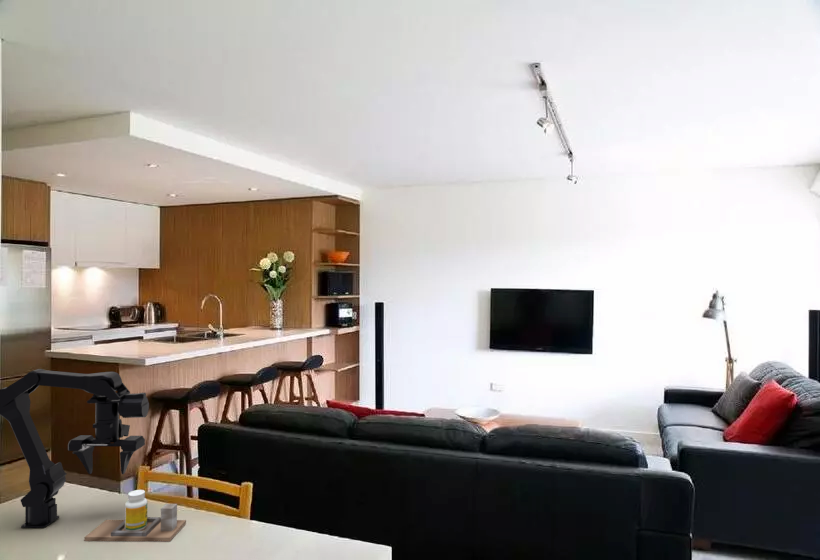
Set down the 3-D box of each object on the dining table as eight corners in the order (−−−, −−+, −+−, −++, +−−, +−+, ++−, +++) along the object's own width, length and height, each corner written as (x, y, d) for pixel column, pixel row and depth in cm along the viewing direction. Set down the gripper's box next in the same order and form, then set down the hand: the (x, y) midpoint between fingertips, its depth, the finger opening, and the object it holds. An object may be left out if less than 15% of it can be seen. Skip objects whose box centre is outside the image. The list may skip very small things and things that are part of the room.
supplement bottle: (122, 527, 144) (123, 491, 144) (144, 521, 147) (144, 486, 147) (127, 535, 140) (127, 498, 139) (149, 529, 143) (149, 493, 143)
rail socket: (84, 540, 138) (84, 513, 138) (106, 523, 148) (106, 498, 148) (170, 541, 138) (170, 514, 138) (185, 523, 148) (186, 498, 148)
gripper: (154, 411, 158) (153, 463, 158) (90, 410, 158) (90, 463, 158) (135, 421, 147) (134, 478, 147) (66, 420, 147) (66, 477, 147)
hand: (106, 473), depth 150 cm, fingers open, 9 cm apart
